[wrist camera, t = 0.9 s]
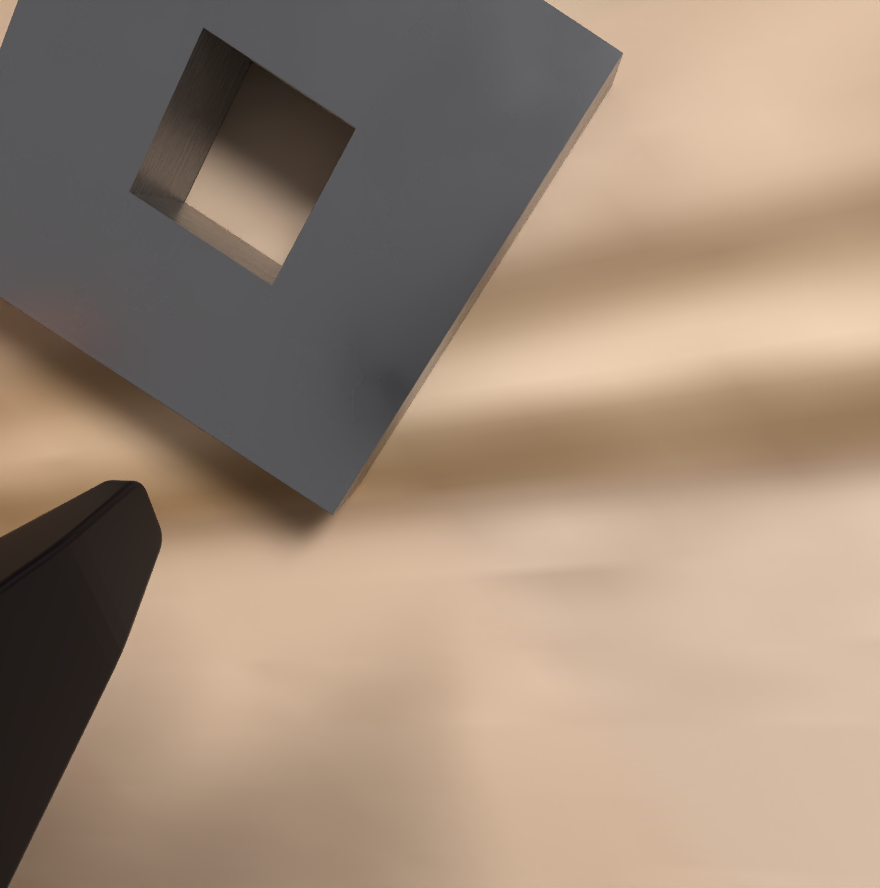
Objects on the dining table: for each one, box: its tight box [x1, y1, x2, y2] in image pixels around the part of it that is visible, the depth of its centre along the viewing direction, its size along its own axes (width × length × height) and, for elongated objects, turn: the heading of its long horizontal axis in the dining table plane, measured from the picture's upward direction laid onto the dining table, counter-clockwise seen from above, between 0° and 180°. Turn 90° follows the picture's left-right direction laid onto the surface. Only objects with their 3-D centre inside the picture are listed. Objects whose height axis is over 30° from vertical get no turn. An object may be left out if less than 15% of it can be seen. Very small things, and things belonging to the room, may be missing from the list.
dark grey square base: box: [0, 0, 623, 515], centre depth 20 cm, size 14×14×3 cm
